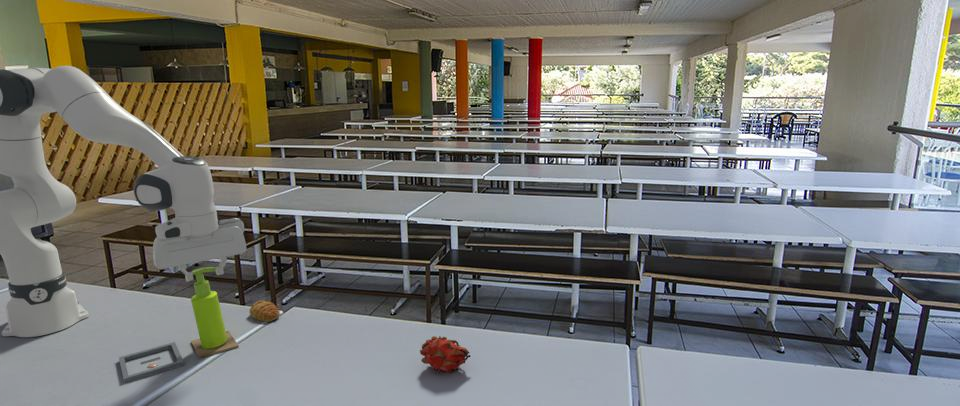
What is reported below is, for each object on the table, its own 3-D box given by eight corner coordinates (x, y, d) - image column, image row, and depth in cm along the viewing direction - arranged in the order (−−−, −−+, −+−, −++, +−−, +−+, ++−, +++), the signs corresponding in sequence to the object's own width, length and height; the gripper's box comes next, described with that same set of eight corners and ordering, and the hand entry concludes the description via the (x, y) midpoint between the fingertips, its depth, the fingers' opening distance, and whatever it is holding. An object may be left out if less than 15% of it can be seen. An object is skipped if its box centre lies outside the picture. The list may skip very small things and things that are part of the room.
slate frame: (119, 361, 128) (118, 357, 128) (175, 345, 136) (174, 341, 135) (124, 382, 119) (123, 379, 119) (184, 365, 126) (183, 361, 126)
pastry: (286, 317, 152) (285, 304, 151) (265, 326, 146) (263, 313, 145) (268, 308, 157) (267, 296, 156) (246, 317, 152) (245, 304, 151)
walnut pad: (191, 342, 137) (191, 341, 137) (228, 332, 142) (228, 330, 142) (199, 358, 129) (199, 356, 129) (238, 346, 135) (238, 345, 134)
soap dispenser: (230, 344, 134) (214, 270, 129) (200, 351, 132) (183, 276, 127) (232, 334, 139) (216, 262, 134) (203, 340, 137) (186, 268, 132)
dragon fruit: (417, 370, 126) (466, 380, 125) (412, 367, 118) (464, 378, 117) (425, 334, 129) (473, 344, 128) (421, 329, 122) (472, 339, 120)
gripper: (239, 214, 137) (245, 264, 140) (147, 228, 124) (156, 283, 128) (246, 219, 132) (252, 271, 135) (151, 234, 120) (160, 291, 123)
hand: (204, 277), depth 131 cm, fingers closed on soap dispenser, 5 cm apart
